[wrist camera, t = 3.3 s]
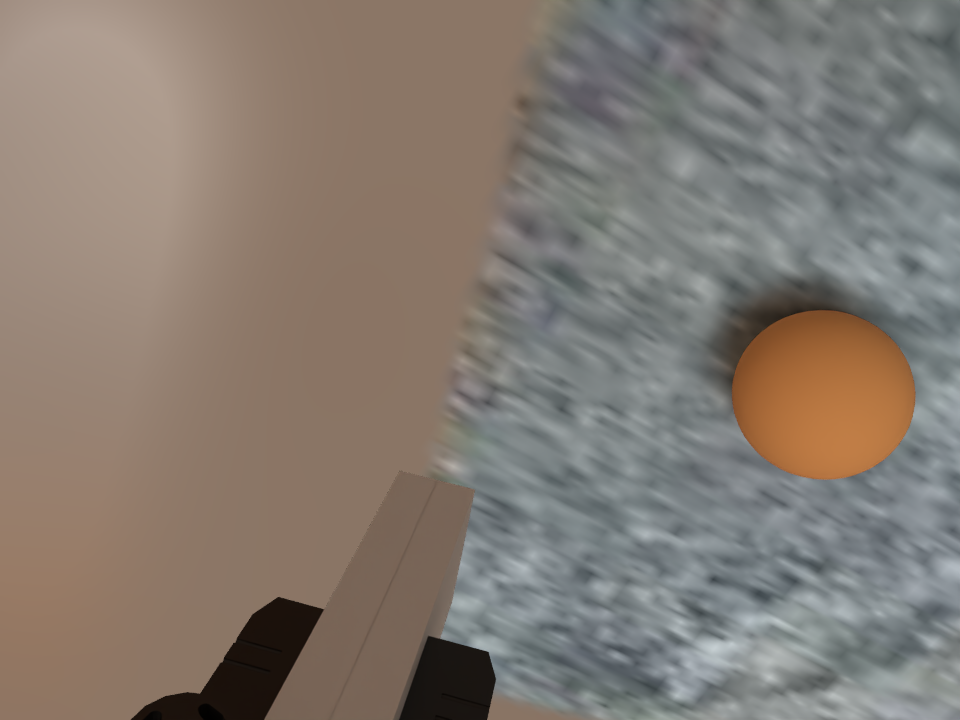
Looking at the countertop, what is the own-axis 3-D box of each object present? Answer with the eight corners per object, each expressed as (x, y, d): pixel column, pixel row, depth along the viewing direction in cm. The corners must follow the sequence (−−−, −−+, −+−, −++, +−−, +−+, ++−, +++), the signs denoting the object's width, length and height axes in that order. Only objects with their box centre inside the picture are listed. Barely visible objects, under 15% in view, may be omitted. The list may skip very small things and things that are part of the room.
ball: (842, 259, 28) (887, 310, 23) (915, 388, 29) (973, 464, 24) (696, 338, 30) (707, 400, 25) (770, 456, 31) (795, 538, 26)
